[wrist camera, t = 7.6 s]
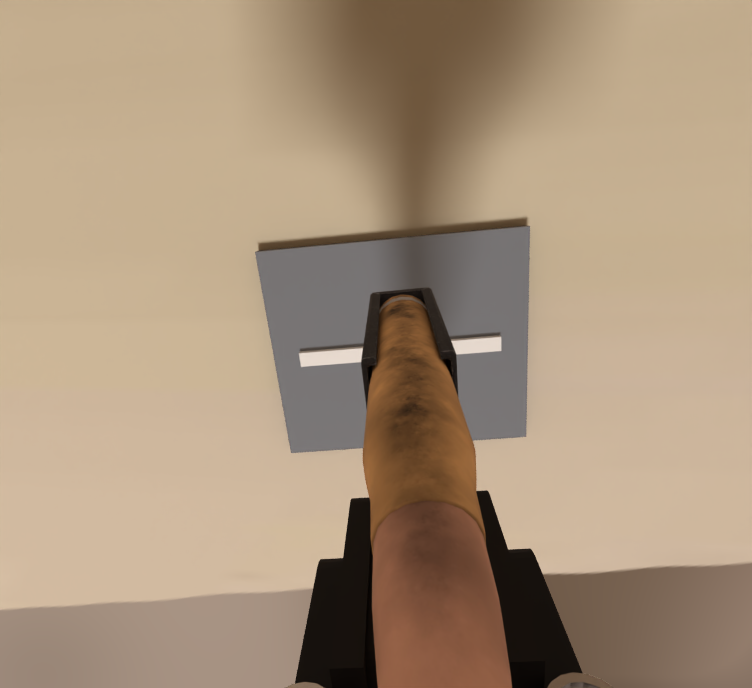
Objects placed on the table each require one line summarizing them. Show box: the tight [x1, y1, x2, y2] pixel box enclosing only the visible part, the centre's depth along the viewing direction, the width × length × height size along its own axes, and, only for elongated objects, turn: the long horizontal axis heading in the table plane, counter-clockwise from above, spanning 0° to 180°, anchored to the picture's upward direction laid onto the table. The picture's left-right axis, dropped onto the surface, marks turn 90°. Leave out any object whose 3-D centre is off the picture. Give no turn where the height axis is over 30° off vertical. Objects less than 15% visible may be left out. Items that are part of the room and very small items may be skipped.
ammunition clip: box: [361, 287, 512, 688], centre depth 9 cm, size 11×2×12 cm, turn 6°
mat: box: [255, 226, 530, 453], centre depth 24 cm, size 14×12×1 cm
